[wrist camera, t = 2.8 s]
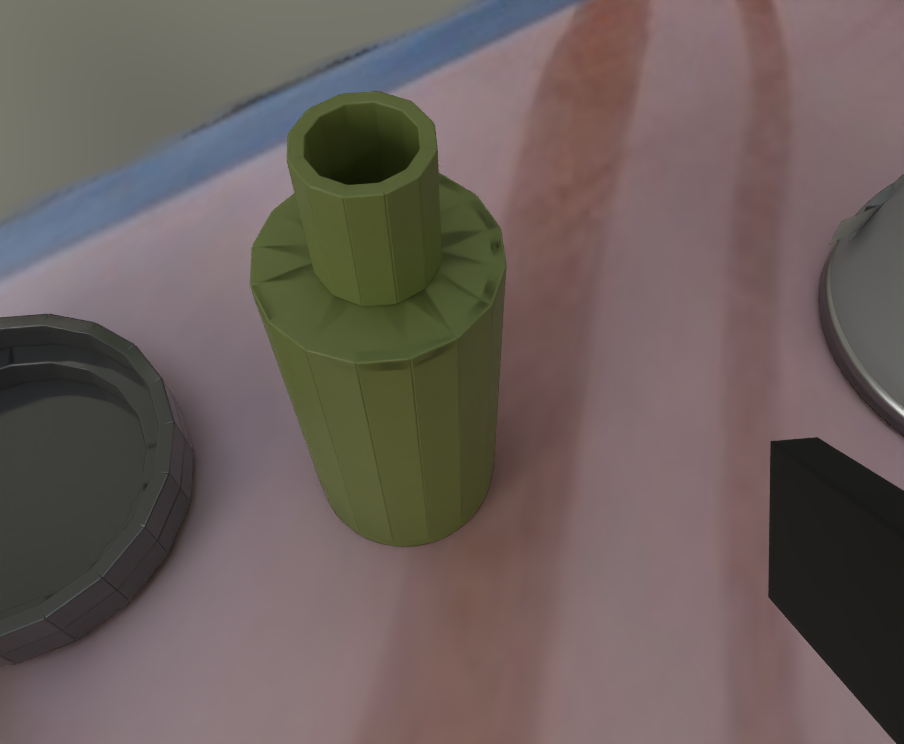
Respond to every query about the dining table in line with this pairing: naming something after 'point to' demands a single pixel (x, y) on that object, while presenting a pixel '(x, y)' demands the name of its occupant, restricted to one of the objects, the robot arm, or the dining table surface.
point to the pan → (81, 478)
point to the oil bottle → (385, 318)
